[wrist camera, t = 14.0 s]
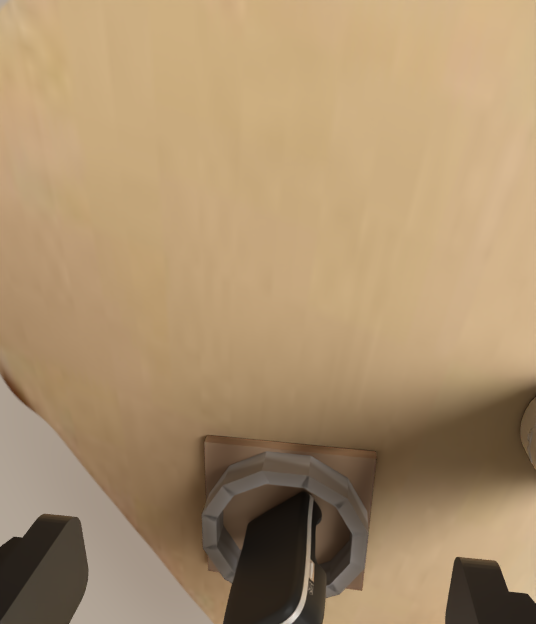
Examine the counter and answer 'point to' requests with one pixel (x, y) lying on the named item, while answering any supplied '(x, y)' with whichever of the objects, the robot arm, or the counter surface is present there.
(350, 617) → the counter surface
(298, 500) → the battery charger
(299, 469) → the ring collar
